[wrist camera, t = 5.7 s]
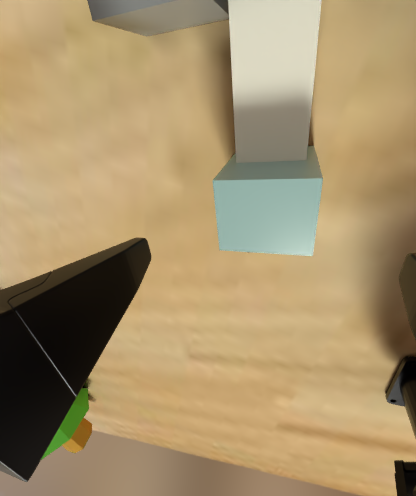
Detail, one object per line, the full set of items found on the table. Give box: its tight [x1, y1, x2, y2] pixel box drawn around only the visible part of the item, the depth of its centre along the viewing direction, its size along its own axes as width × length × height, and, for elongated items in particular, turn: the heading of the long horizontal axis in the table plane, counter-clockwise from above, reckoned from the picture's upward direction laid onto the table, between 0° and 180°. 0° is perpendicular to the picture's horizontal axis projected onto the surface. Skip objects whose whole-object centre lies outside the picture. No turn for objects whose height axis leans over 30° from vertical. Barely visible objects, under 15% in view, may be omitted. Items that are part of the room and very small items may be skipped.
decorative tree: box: [41, 388, 92, 460], centre depth 37 cm, size 11×12×30 cm
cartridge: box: [213, 0, 323, 256], centre depth 10 cm, size 18×4×6 cm, turn 7°
